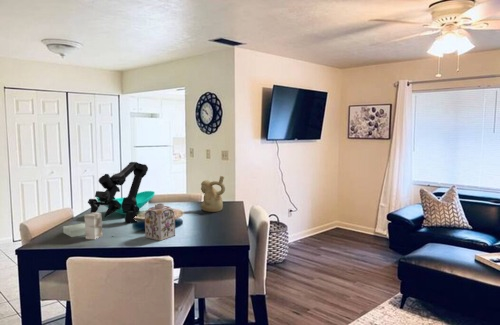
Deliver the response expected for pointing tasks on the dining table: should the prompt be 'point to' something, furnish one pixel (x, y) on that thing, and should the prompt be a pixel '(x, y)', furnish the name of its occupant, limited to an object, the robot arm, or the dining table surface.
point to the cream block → (93, 225)
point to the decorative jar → (159, 222)
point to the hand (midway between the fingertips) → (97, 216)
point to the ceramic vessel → (212, 195)
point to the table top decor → (140, 198)
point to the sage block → (74, 230)
